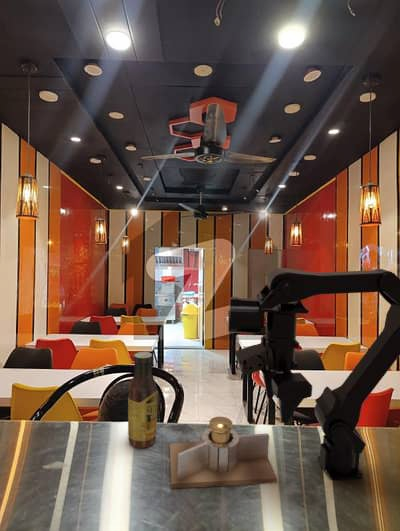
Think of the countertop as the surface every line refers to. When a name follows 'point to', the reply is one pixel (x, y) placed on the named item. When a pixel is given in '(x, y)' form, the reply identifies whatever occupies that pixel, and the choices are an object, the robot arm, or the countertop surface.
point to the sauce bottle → (142, 403)
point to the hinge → (222, 453)
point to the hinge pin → (220, 429)
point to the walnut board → (241, 475)
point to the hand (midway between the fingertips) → (276, 409)
